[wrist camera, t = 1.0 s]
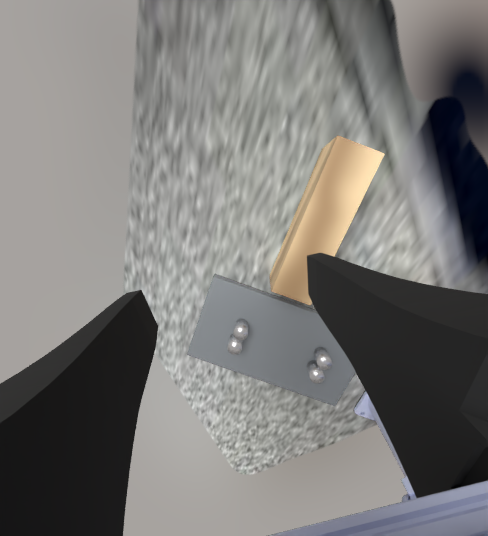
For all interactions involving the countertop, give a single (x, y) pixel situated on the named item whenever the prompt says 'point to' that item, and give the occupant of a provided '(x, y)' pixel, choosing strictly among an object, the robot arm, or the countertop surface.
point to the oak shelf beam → (324, 212)
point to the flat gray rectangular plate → (270, 341)
